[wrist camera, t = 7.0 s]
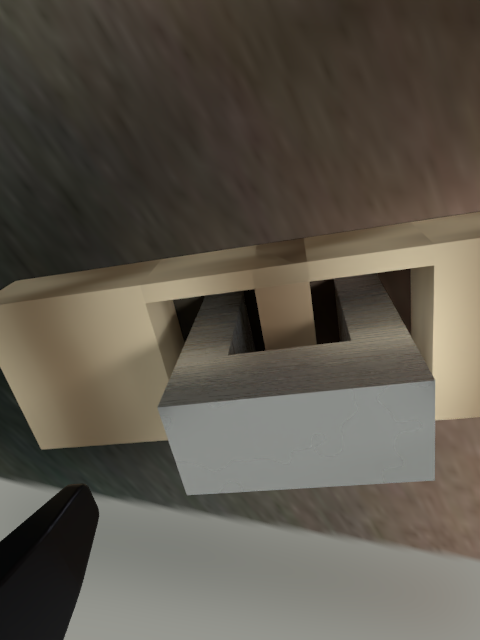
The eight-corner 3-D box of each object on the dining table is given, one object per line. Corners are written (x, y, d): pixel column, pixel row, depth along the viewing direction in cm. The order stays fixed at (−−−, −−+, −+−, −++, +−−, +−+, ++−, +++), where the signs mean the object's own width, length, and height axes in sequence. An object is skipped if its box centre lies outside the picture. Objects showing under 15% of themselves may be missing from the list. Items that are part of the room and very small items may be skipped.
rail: (613, 191, 13) (684, 209, 10) (580, 362, 15) (631, 405, 13) (15, 280, 16) (-29, 308, 14) (70, 408, 18) (41, 449, 16)
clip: (374, 271, 14) (435, 380, 9) (379, 342, 16) (434, 480, 10) (205, 295, 15) (157, 407, 10) (221, 360, 17) (186, 495, 11)
